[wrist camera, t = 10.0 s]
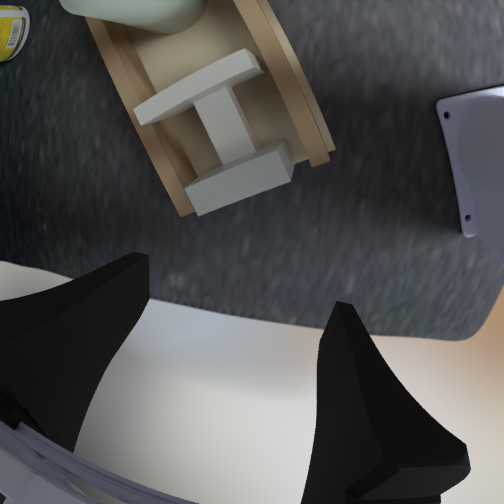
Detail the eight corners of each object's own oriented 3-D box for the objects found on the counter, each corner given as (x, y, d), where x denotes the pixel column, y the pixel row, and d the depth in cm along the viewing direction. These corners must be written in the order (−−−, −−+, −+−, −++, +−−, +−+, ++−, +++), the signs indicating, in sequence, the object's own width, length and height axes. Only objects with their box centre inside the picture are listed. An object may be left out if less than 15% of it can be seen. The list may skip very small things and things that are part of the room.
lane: (334, 147, 18) (340, 160, 15) (192, 201, 21) (170, 223, 18) (194, -107, 10) (174, -130, 6) (81, -36, 13) (50, -45, 10)
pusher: (304, 159, 18) (302, 177, 14) (211, 195, 20) (188, 220, 16) (259, 57, 15) (244, 48, 12) (166, 103, 17) (132, 109, 14)
